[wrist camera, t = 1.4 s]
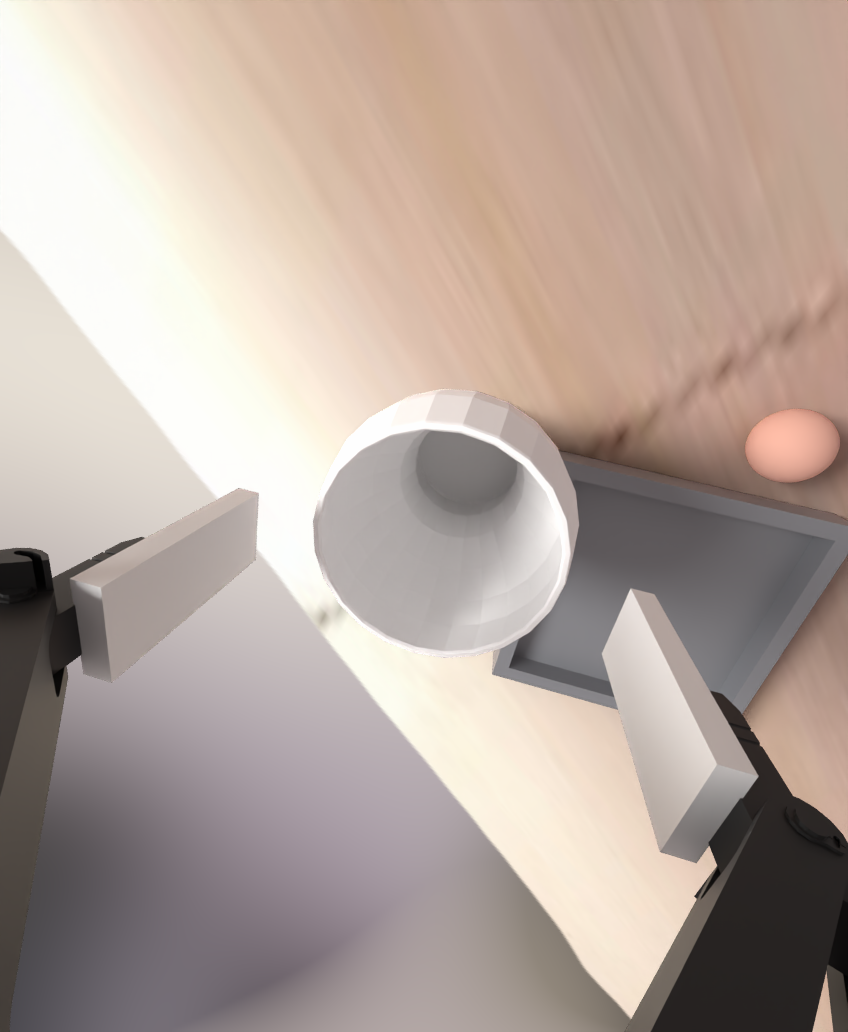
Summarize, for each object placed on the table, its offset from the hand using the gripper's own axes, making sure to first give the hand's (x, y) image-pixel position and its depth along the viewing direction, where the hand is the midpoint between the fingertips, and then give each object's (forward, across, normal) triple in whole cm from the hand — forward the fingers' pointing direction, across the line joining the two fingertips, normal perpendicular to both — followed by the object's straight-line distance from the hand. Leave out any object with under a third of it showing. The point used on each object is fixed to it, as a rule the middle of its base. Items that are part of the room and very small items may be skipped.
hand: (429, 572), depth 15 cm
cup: (+16, 0, 0) cm, 16 cm away
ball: (+16, +17, +6) cm, 24 cm away
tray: (+16, +14, -6) cm, 22 cm away
